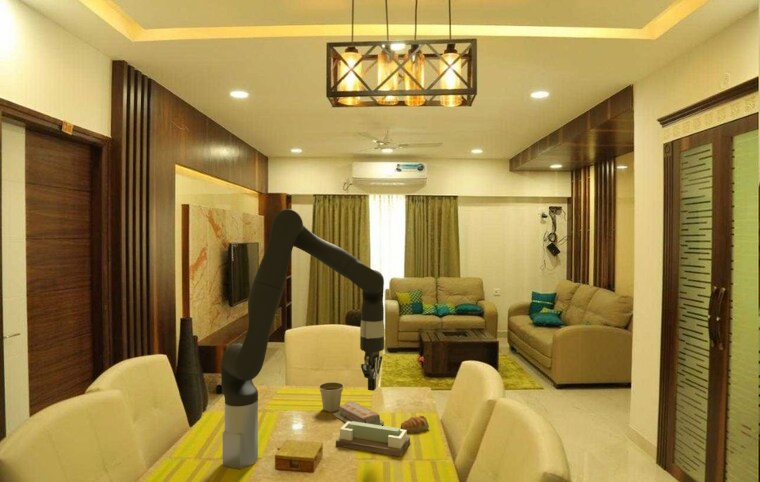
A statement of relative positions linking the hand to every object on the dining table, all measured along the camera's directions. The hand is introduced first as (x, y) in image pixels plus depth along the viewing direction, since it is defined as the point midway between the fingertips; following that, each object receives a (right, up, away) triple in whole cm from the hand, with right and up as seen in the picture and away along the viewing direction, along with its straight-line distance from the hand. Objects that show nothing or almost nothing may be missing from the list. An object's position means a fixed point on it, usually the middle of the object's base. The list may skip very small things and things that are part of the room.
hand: (371, 389), depth 143 cm
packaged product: (-5, -18, +19) cm, 26 cm away
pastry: (+15, -17, +12) cm, 26 cm away
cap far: (-7, -15, +3) cm, 17 cm away
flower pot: (-16, -17, +29) cm, 37 cm away
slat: (+1, -16, 0) cm, 16 cm away
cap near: (+8, -16, -3) cm, 18 cm away
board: (0, -17, 0) cm, 17 cm away
